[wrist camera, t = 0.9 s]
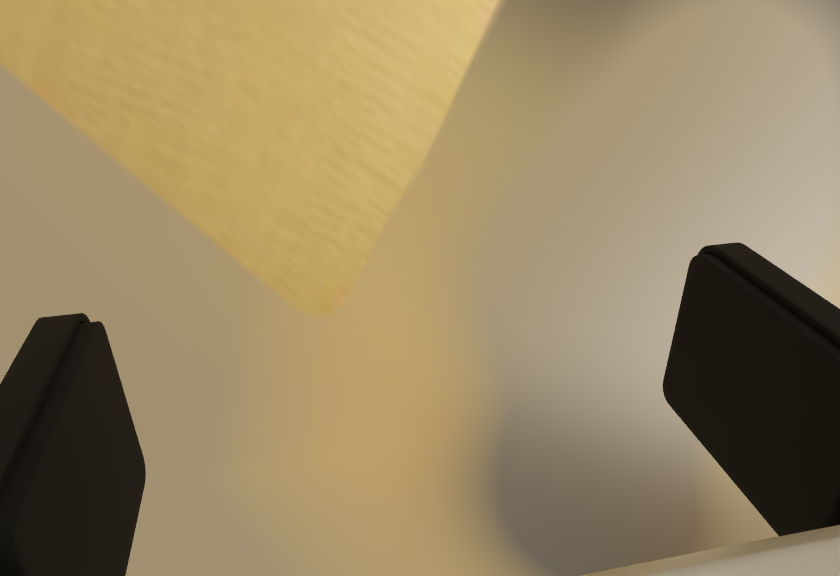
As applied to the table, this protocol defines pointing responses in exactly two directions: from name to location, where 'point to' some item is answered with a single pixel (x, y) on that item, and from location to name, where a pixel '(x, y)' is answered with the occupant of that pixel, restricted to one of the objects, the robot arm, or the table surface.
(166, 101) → the table surface
